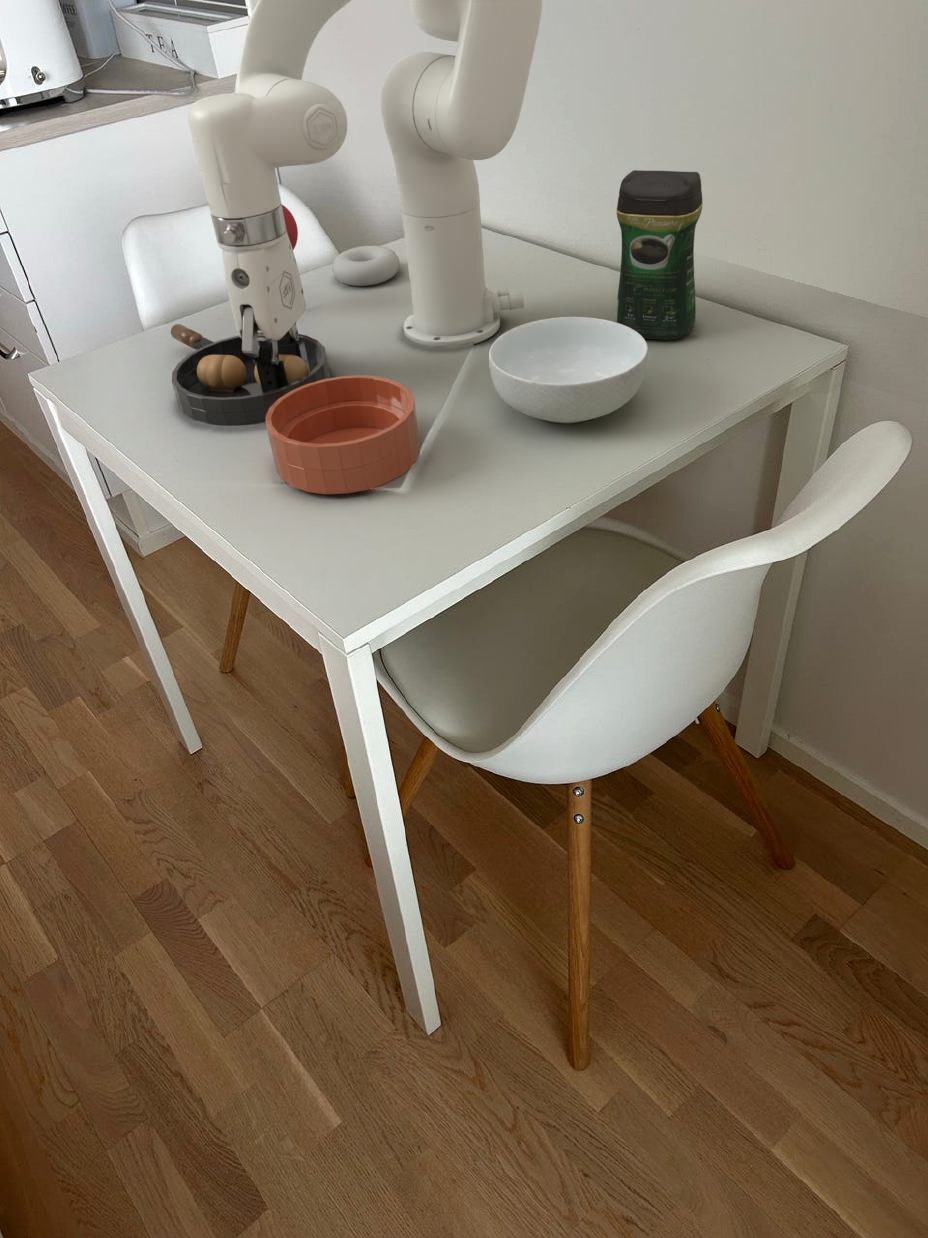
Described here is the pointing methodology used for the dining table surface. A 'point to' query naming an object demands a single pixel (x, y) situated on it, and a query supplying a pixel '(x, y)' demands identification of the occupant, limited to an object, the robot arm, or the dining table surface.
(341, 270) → the donut
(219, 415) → the skillet
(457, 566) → the dining table surface
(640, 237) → the coffee jar
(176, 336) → the skillet handle
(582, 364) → the cereal bowl
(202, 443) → the dining table surface
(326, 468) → the bowl
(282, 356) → the potato
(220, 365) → the potato
